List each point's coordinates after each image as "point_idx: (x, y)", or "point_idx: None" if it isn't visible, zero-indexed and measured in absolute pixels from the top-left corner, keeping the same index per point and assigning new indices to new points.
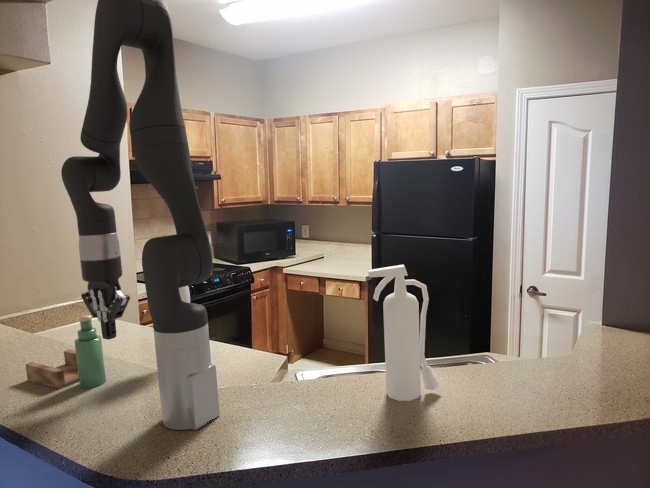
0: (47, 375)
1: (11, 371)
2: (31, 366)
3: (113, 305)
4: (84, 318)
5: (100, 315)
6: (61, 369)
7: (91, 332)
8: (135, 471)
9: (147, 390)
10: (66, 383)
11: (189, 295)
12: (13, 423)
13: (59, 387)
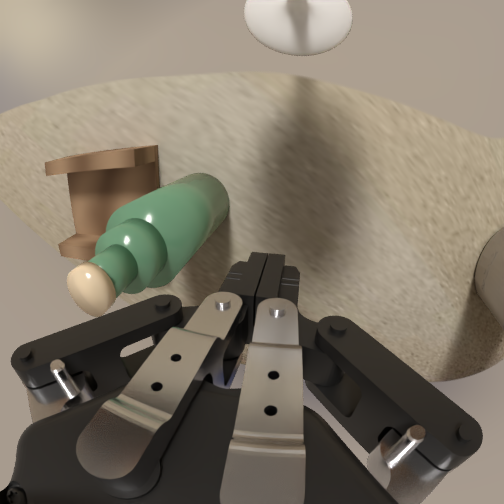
0: None
1: (36, 226)
2: (75, 257)
3: (368, 446)
4: (105, 311)
5: (233, 373)
6: (84, 190)
7: (152, 268)
8: (477, 367)
9: (374, 188)
10: None
11: None
12: None
13: None
